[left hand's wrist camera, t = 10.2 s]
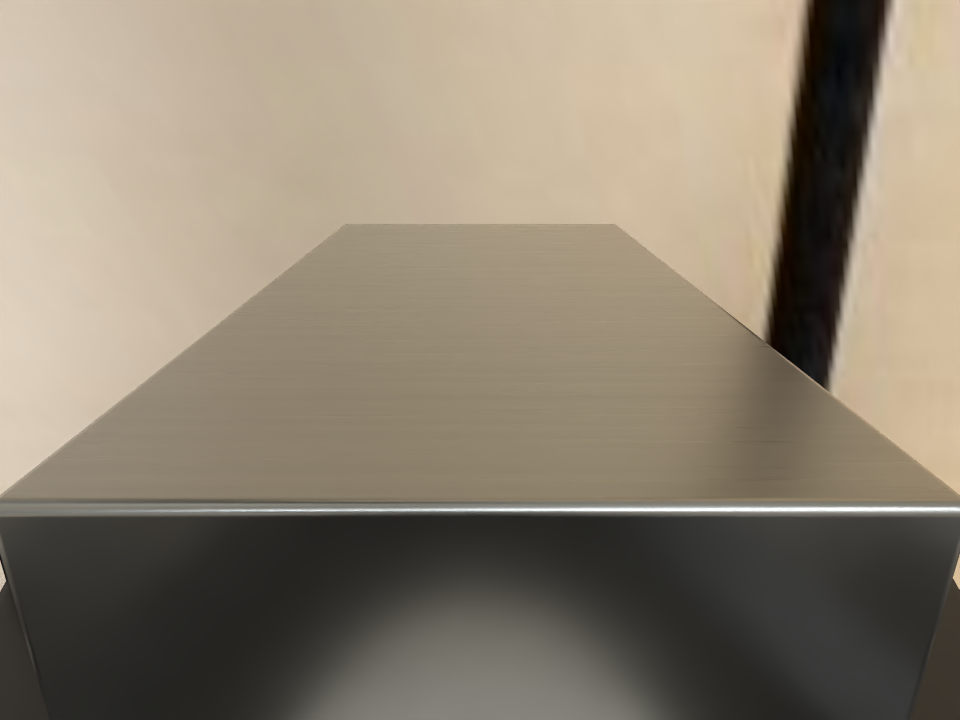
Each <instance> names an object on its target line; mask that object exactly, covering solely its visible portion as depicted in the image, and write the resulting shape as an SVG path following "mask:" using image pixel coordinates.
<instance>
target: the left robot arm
mask: <svg viewBox="0 0 960 720" xmlns="http://www.w3.org/2000/svg"><path fill="white" fill-rule="evenodd" d="M0 561H1V564H2V568H3V571H4V574H5V578H6V582H5V584H4V586H3V588H2V590H1V592H0V720H49V718H48V714H47V711H46V707H45V704H44V701H43V697H42V694H41V690H40V687H39V684H38V680H37V677H36V673H35V670H34V667H33V663H32V660H31V656H30V653H29V650H28V646H27V643H26V639H25V636H24V633H23V629H22V626H21V623H20V619H19V616H18V612H17V609H16V606H15V602H14V599H13V595H12V592H11V589H10V585H9V582H8V578H7V575H6V572H5V568H4V565H3V561H2V558H1V555H0ZM911 720H960V590H959V588H958V587H957V585H956V583H955V581H954V579H953V578H952V582H951V585H950V588H949V592H948V595H947V599H946V602H945V606H944V609H943V612H942V616H941V619H940V623H939V626H938V629H937V633H936V636H935V640H934V643H933V646H932V650H931V653H930V657H929V660H928V663H927V667H926V670H925V674H924V677H923V681H922V684H921V687H920V691H919V694H918V698H917V701H916V704H915V708H914V711H913V715H912V718H911Z"/></svg>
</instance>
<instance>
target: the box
mask: <svg viewBox="0 0 960 720" xmlns="http://www.w3.org/2000/svg"><path fill="white" fill-rule="evenodd" d="M959 554H960V495H959V494H958V493H956V492H955V491H954V490H952V489H951V488H950V487H949V486H947V485H946V484H945V483H944V482H942V481H941V480H940V479H938V478H937V477H936V476H935V475H933V474H932V473H931V472H930V471H928V470H927V469H926V468H924V467H923V466H922V465H921V464H919V463H918V462H917V461H916V460H914V459H913V458H912V457H910V456H909V455H908V454H907V453H905V452H904V451H903V450H902V449H900V448H899V447H898V446H897V445H895V444H894V443H893V442H891V441H890V440H889V439H888V438H886V437H885V436H884V435H883V434H881V433H880V432H879V431H877V430H876V429H875V428H874V427H872V426H871V425H870V424H869V423H867V422H866V421H865V420H863V419H862V418H861V417H860V416H858V415H857V414H856V413H855V412H853V411H852V410H851V409H849V408H848V407H847V406H846V405H844V404H843V403H842V402H841V401H839V400H838V399H837V398H835V397H834V396H833V395H832V394H830V393H829V392H828V391H827V390H825V389H824V388H823V387H821V386H820V385H819V384H818V383H816V382H815V381H814V380H813V379H811V378H810V377H809V376H808V375H806V374H805V373H804V372H802V371H801V370H800V369H799V368H797V367H796V366H795V365H794V364H792V363H791V362H790V361H788V360H787V359H786V358H785V357H783V356H782V355H781V354H780V353H778V352H777V351H776V350H774V349H773V348H772V347H771V346H769V345H768V344H767V343H766V342H764V341H763V340H762V339H760V338H759V337H758V336H757V335H755V334H754V333H753V332H752V331H750V330H749V329H748V328H746V327H745V326H744V325H743V324H741V323H740V322H739V321H738V320H736V319H735V318H734V317H732V316H731V315H730V314H729V313H727V312H726V311H725V310H724V309H722V308H721V307H720V306H719V305H717V304H716V303H715V302H713V301H712V300H711V299H710V298H708V297H707V296H706V295H705V294H703V293H702V292H701V291H699V290H698V289H697V288H696V287H694V286H693V285H692V284H691V283H689V282H688V281H687V280H685V279H684V278H683V277H682V276H680V275H679V274H678V273H677V272H675V271H674V270H673V269H671V268H670V267H669V266H668V265H666V264H665V263H664V262H663V261H661V260H660V259H659V258H657V257H656V256H655V255H654V254H652V253H651V252H650V251H649V250H647V249H646V248H645V247H643V246H642V245H641V244H640V243H638V242H637V241H636V240H635V239H633V238H632V237H631V236H630V235H628V234H627V233H626V232H624V231H623V230H622V229H621V228H619V227H618V226H617V225H614V224H413V225H344V226H343V227H341V228H340V229H339V230H338V231H336V232H335V233H334V234H333V235H331V236H330V237H329V238H327V239H326V240H325V241H324V242H322V243H321V244H320V245H318V246H317V247H316V248H315V249H313V250H312V251H311V252H310V253H308V254H307V255H306V256H304V257H303V258H302V259H301V260H299V261H298V262H297V263H296V264H294V265H293V266H292V267H290V268H289V269H288V270H287V271H285V272H284V273H283V274H282V275H280V276H279V277H278V278H276V279H275V280H274V281H273V282H271V283H270V284H269V285H268V286H266V287H265V288H264V289H262V290H261V291H260V292H259V293H257V294H256V295H255V296H253V297H252V298H251V299H250V300H248V301H247V302H246V303H245V304H243V305H242V306H241V307H239V308H238V309H237V310H236V311H234V312H233V313H232V314H231V315H229V316H228V317H227V318H225V319H224V320H223V321H222V322H220V323H219V324H218V325H217V326H215V327H214V328H213V329H211V330H210V331H209V332H208V333H206V334H205V335H204V336H203V337H201V338H200V339H199V340H197V341H196V342H195V343H194V344H192V345H191V346H190V347H188V348H187V349H186V350H185V351H183V352H182V353H181V354H180V355H178V356H177V357H176V358H174V359H173V360H172V361H171V362H169V363H168V364H167V365H166V366H164V367H163V368H162V369H160V370H159V371H158V372H157V373H155V374H154V375H153V376H152V377H150V378H149V379H148V380H146V381H145V382H144V383H143V384H141V385H140V386H139V387H138V388H136V389H135V390H134V391H132V392H131V393H130V394H129V395H127V396H126V397H125V398H123V399H122V400H121V401H120V402H118V403H117V404H116V405H115V406H113V407H112V408H111V409H109V410H108V411H107V412H106V413H104V414H103V415H102V416H101V417H99V418H98V419H97V420H95V421H94V422H93V423H92V424H90V425H89V426H88V427H87V428H85V429H84V430H83V431H81V432H80V433H79V434H78V435H76V436H75V437H74V438H72V439H71V440H70V441H69V442H67V443H66V444H65V445H64V446H62V447H61V448H60V449H58V450H57V451H56V452H55V453H53V454H52V455H51V456H50V457H48V458H47V459H46V460H44V461H43V462H42V463H41V464H39V465H38V466H37V467H36V468H34V469H33V470H32V471H30V472H29V473H28V474H27V475H25V476H24V477H23V478H22V479H20V480H19V481H18V482H16V483H15V484H14V485H13V486H11V487H10V488H9V489H7V490H6V491H5V492H4V493H2V494H1V495H0V555H1V558H2V561H3V565H4V568H5V572H6V575H7V578H8V582H9V585H10V589H11V592H12V595H13V599H14V602H15V606H16V609H17V612H18V616H19V619H20V623H21V626H22V629H23V633H24V636H25V639H26V643H27V646H28V650H29V653H30V656H31V660H32V663H33V667H34V670H35V673H36V677H37V680H38V684H39V687H40V690H41V694H42V697H43V701H44V704H45V707H46V711H47V714H48V718H49V720H911V718H912V715H913V711H914V708H915V704H916V701H917V698H918V694H919V691H920V687H921V684H922V681H923V677H924V674H925V670H926V667H927V663H928V660H929V657H930V653H931V650H932V646H933V643H934V640H935V636H936V633H937V629H938V626H939V623H940V619H941V616H942V612H943V609H944V606H945V602H946V599H947V595H948V592H949V588H950V585H951V582H952V578H953V575H954V571H955V568H956V565H957V561H958V558H959Z"/></svg>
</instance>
